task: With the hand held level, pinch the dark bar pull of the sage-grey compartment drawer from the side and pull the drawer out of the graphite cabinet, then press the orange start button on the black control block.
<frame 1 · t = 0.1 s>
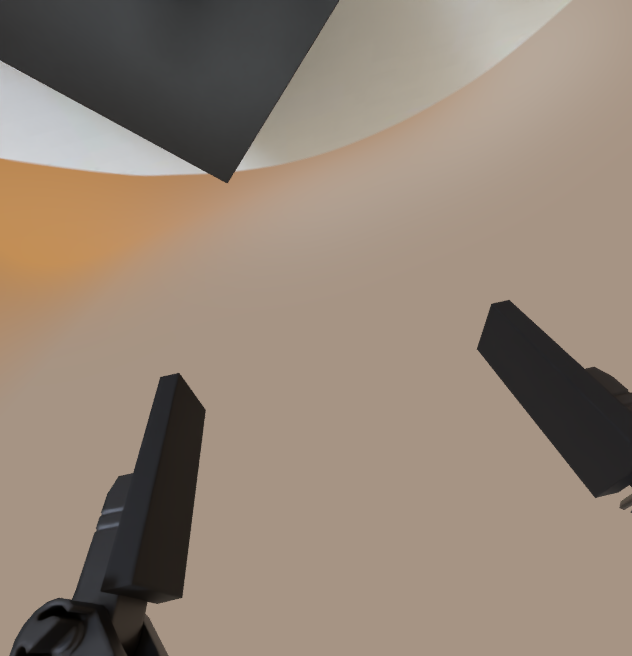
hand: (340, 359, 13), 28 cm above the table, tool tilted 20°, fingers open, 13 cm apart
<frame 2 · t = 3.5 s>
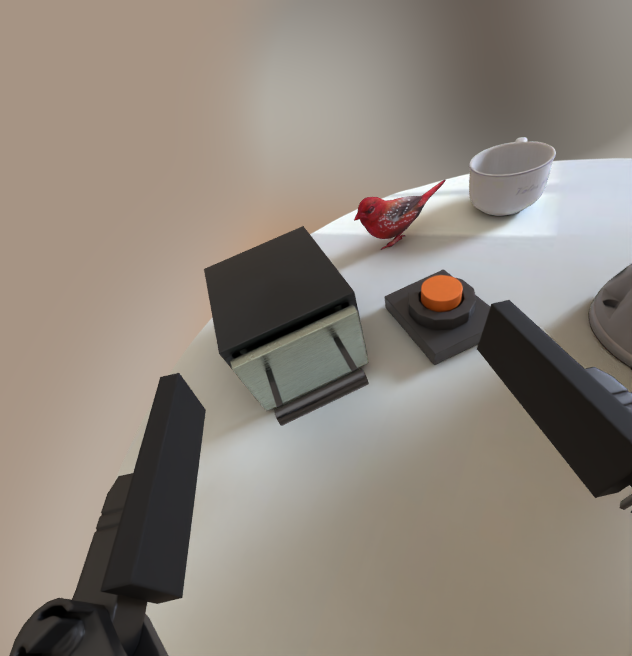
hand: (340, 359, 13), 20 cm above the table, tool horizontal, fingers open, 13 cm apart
start button: (441, 293, 35), point 4 cm above the table, slide at 0.1 cm
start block: (438, 318, 38), on the table
cabinet: (295, 337, 42), on the table
decorative bird figurine: (403, 239, 51), on the table
teacup: (504, 202, 51), on the table
drawer: (295, 338, 35), point 5 cm above the table, slide at 0.5 cm
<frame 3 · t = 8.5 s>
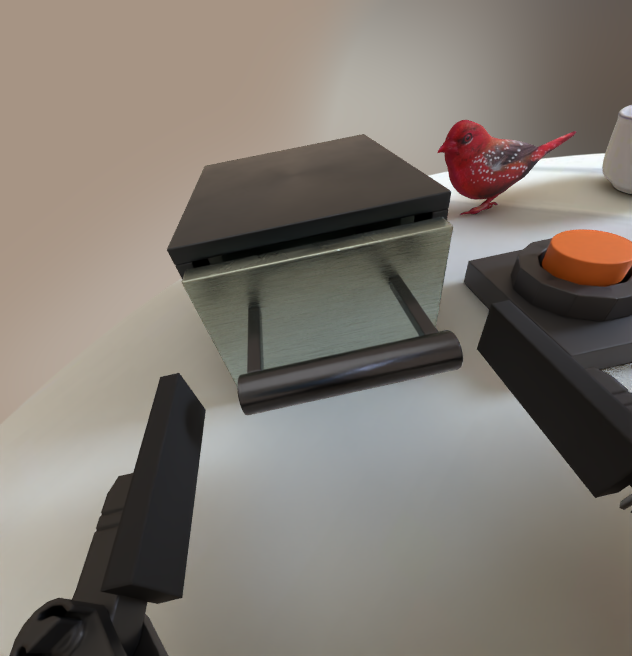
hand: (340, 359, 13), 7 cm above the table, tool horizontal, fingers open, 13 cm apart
start button: (586, 257, 20), point 4 cm above the table, slide at 0.1 cm
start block: (558, 309, 23), on the table
cabinet: (316, 299, 28), on the table
decorative bird figurine: (493, 209, 36), on the table
drawer: (317, 282, 20), point 5 cm above the table, slide at 0.5 cm
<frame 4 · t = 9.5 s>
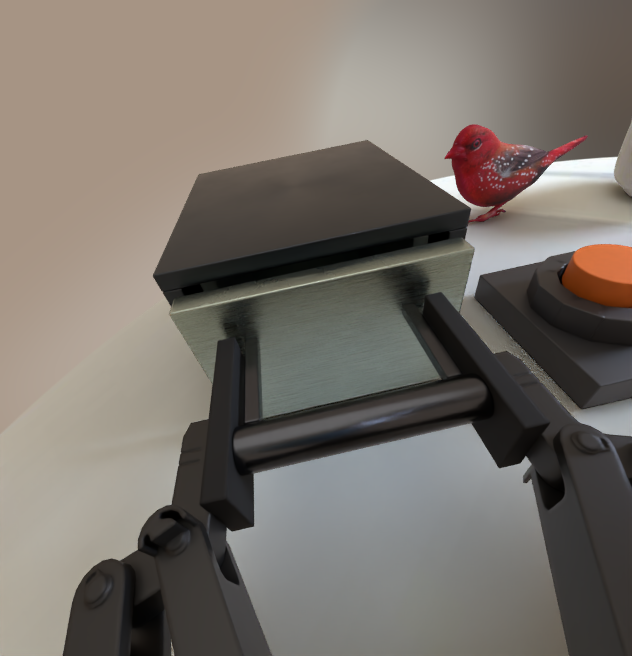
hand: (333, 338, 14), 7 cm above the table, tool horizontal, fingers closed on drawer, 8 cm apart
start button: (611, 274, 18), point 4 cm above the table, slide at 0.1 cm
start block: (578, 328, 21), on the table
cabinet: (317, 315, 26), on the table
decorative bird figurine: (501, 216, 35), on the table
drawer: (320, 303, 19), point 5 cm above the table, slide at 0.5 cm, touching gripper
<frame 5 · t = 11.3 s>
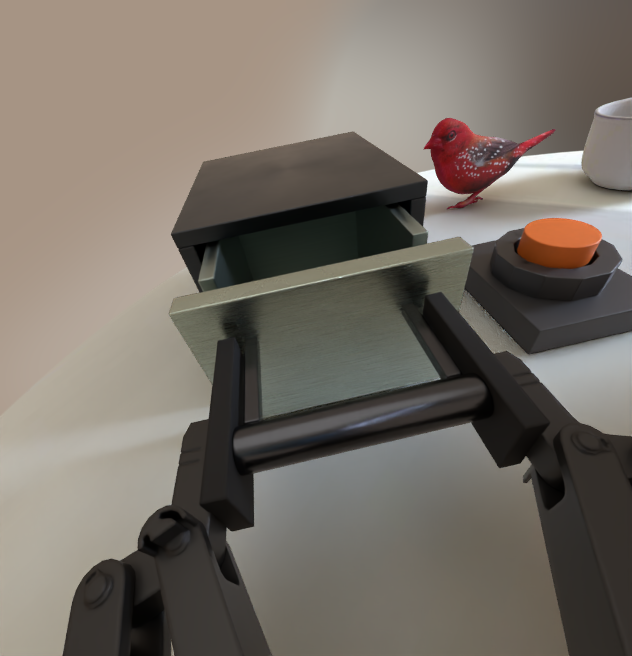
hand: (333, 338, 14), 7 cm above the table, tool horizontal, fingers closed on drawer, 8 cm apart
start button: (556, 243, 21), point 4 cm above the table, slide at 0.1 cm
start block: (534, 293, 24), on the table
cabinet: (309, 288, 29), on the table
decorative bird figurine: (478, 203, 38), on the table
teacup: (628, 179, 37), on the table
drawer: (319, 303, 19), point 5 cm above the table, slide at 4.8 cm, touching gripper
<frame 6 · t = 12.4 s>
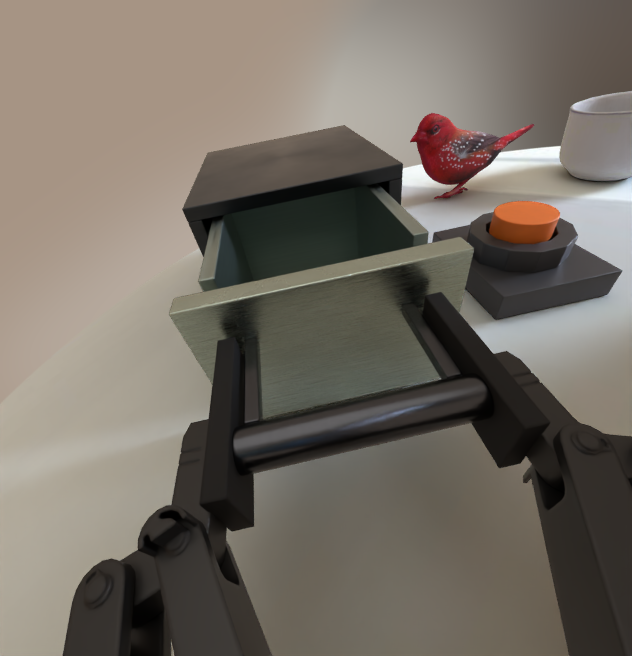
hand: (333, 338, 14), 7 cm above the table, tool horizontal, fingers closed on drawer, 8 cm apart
start button: (522, 222, 24), point 4 cm above the table, slide at 0.1 cm
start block: (506, 270, 27), on the table
cabinet: (304, 269, 32), on the table
decorative bird figurine: (464, 194, 41), on the table
teacup: (603, 171, 40), on the table
drawer: (319, 303, 19), point 5 cm above the table, slide at 8.5 cm, touching gripper
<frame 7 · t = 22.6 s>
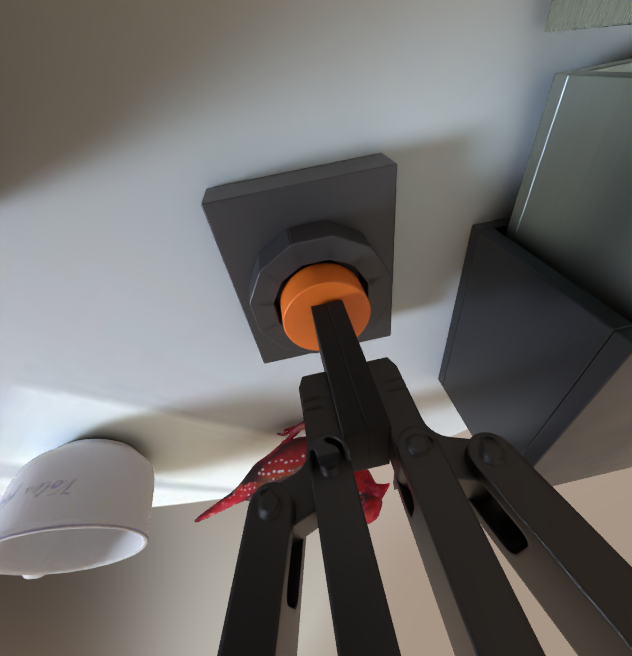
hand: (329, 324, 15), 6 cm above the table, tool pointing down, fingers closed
start button: (324, 309, 15), point 4 cm above the table, slide at 0.1 cm, touching gripper
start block: (311, 265, 19), on the table
cabinet: (536, 300, 24), on the table
decorative bird figurine: (280, 428, 31), on the table
teacup: (93, 459, 29), on the table
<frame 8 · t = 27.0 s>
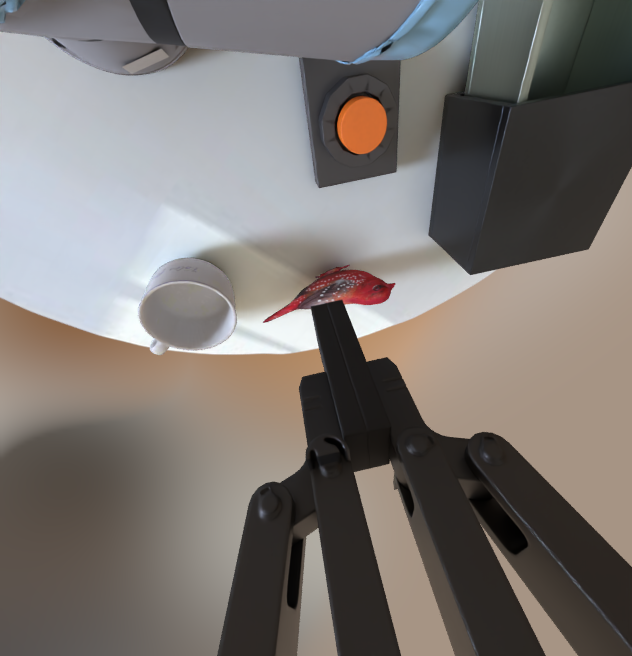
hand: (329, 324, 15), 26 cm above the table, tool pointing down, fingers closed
start button: (361, 125, 28), point 4 cm above the table, slide at 0.1 cm
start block: (349, 119, 32), on the table
cabinet: (491, 163, 37), on the table
decorative bird figurine: (317, 274, 44), on the table
teacup: (189, 289, 42), on the table
drawer: (572, 0, 24), point 5 cm above the table, slide at 8.5 cm
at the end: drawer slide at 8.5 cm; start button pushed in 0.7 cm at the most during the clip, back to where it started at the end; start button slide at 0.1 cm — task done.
